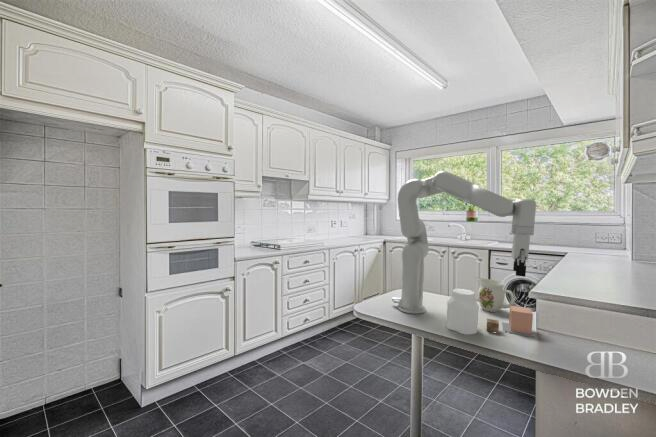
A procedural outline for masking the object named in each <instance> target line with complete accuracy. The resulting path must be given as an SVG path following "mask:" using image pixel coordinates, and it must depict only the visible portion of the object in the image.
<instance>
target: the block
mask: <svg viewBox="0 0 656 437" xmlns="http://www.w3.org/2000/svg"><path fill="white" fill-rule="evenodd" d="M499 326H500V322H499V320H498V319H492V318H491V319H490V318H486V327H487V329H486V332H487V331H489V332H488V333H491V332H496V333H495V334H497V333H498V334H499Z"/></svg>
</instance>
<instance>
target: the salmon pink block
mask: <svg viewBox="0 0 656 437" xmlns="http://www.w3.org/2000/svg"><path fill="white" fill-rule="evenodd" d="M533 318H534V313H533V311H532V310H531V308H530V307H522V306H515V305H512V306H510V307H509V316H508V323H509V327H510V331H515V332H521V333H526V334H532V333H533V331H532V330H533Z"/></svg>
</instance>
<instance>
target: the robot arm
mask: <svg viewBox="0 0 656 437" xmlns="http://www.w3.org/2000/svg"><path fill="white" fill-rule="evenodd" d="M397 193H398V194H397V206H398V216H399V222H400V231H401V234H402V235H403V237H404V238H406V239H407V243H406V244H405V245H404V246H403V248H402V251H401V262H402V274H401V275H402V277H401V281H402V282H401V297H392V300H391V301H392V302H393V303H394V304H397V309H398V310H399V311H400V312H403V313H406V314H414V315H417V314H418V315H420V314H424V313H426V311H427V308H426V307H425V305H423V299H424V279H425V276H424V275H425V266H424V265H425V262H424V261H425V260H424V259H425V257H427V255H428V253H429V249H430V248H429V242H428V234H427V229H426V228H427V227H426V223H424V221H423V220H422V219H421V218H420V216H419V208H418V205H417V199H423V198H427V197H430V196H431V197H432V196H434V195H437V194H441V193H445V194H446V195H449V196H452V197H453V198H456V199H458V200H460V201H462V202H465V203H467V204H470V205H472V206H474V207H476V208H479V209H482V211H483V210H484V211H485V212H488V213H490V214H492V215H494V216H496V217H498V218H506V217H509V216H510V217H512V220H511V234H512V235H513V239H512V247H511V248H512V249H511V257H512V259H513V260H514V261H513V271H515V276H517V277H526V274H527V272H526V271H527V261H528V259H529V252H530V240H531V236H534V233H535V225H536V224H535V222H536V213H537V212H536V209H537V202H536V200H534V199H528V198H527V199H526V198H524V199H523V198H518V199H510V198H507V197H504V196H502V195H499V194H497V193H495V192H493V191H490V190H488V189H486V188H484V187H482V186H480V185H478V184H477V183H475V182H472V181H471V180H468V179H465V178H462V177H460V176H459V175H456V174H454V173H452V172H449V171H447V170H439V171H437V172H436V173H435V174H434V175H433V176H431V177H427V178H424V179H420V178H412V179H409V180H408V181H406V182H405V183H403V185H402V186H401V187H400V188H399V191H398V192H397Z"/></svg>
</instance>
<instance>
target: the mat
mask: <svg viewBox="0 0 656 437" xmlns="http://www.w3.org/2000/svg"><path fill="white" fill-rule="evenodd" d="M502 325H503V326H502ZM501 326H502V330H503V332H504V331H505V332H504V333H507V332H509V334H513V333H514V334H513V335H518V334H519V335H520V336H525V337H531V338H534V333H533V332H532V334H526V333H521V332H515V331H510V327H509V322H501Z"/></svg>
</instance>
